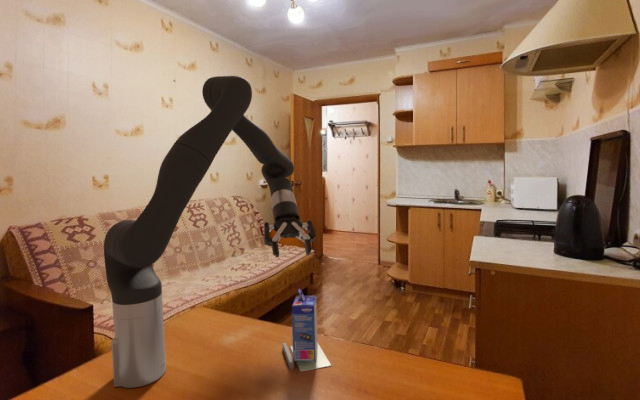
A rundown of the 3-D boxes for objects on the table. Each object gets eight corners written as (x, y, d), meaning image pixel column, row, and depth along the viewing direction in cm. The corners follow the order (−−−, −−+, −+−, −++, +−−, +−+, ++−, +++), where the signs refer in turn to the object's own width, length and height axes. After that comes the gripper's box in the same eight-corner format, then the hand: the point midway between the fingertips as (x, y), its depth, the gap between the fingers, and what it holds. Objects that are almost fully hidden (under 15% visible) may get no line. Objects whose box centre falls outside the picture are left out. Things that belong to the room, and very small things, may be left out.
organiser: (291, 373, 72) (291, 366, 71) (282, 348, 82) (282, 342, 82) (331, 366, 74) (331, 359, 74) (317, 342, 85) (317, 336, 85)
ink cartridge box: (295, 344, 83) (295, 285, 84) (317, 344, 83) (317, 285, 84) (291, 361, 73) (291, 294, 74) (316, 361, 73) (316, 294, 74)
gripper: (261, 200, 96) (268, 249, 86) (309, 199, 100) (321, 245, 90) (259, 216, 101) (265, 264, 91) (305, 214, 105) (316, 259, 95)
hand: (293, 254), depth 91 cm, fingers open, 8 cm apart
